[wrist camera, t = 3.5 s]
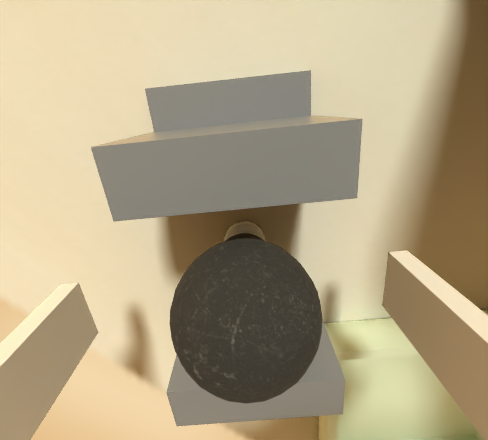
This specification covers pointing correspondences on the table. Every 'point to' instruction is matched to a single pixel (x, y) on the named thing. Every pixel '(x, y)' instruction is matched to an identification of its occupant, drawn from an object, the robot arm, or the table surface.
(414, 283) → the robot arm
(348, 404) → the tray
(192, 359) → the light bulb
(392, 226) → the table surface
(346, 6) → the table surface
